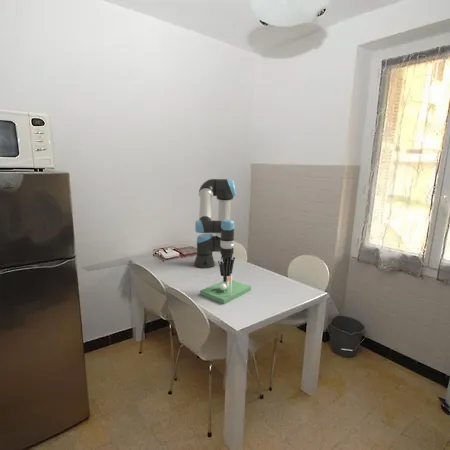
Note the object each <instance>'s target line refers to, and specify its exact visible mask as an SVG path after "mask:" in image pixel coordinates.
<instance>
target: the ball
mask: <svg viewBox="0 0 450 450" xmlns="http://www.w3.org/2000/svg"><path fill="white" fill-rule="evenodd" d="M226 288H227V286H226V284H224V283H222V284H220V289H221V290H225V289H226Z"/></svg>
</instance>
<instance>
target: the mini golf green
mask: <svg viewBox="0 0 450 450" xmlns="http://www.w3.org/2000/svg"><path fill="white" fill-rule="evenodd" d="M227 281H229V287H227V288H226V289H225V290H221V289H220V284H222V283H224V282H223V280H221V281H219V282H217V283H214V284H212V285H210V286H208V287H205V288H203V289H201V290H199V295H201V296H203V297H206V298H208V299H210V300H213V301H216V302H217V303H221V304H222V305H226V304H228V303H229V302H231V301H233V300H235V299H237V298H239V297H242V295H245V294H246V293H247V294H248V293H249V292H251V291H252V286H251V285H248V284H245V283H242V282H239V281H236V280H233V275H231V276H229V277H227Z"/></svg>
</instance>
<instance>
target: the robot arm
mask: <svg viewBox="0 0 450 450" xmlns="http://www.w3.org/2000/svg"><path fill="white" fill-rule="evenodd" d="M198 197H199V213H198V215H199V217H198V218H199V219H196V221H195V224H194V225H195V227H194V229H195V232H196V233H197V234H198V233H199V235H198V236H197V237H196V257H195V259H194V265H193V266H195V268H201V269H210V268H213V267H215V265H216V264H215V260H214V256H213V255H214V254H213V252H215V253H216V252H218V253H220V255H221V257H220V260H218V261H217V264H218V266H219V274H220V277H222V278H223V279H222V281H223V282H224V284H226V286H227V287H229V281H227V277H230V276H232V274H233V270H234V269H233V268H234V264H235V260H236V257H235V256H233V255H234V249H235V247H234V246H235V245H234V244H235V241H234V240H235V227H236V226H235V221H234V220H232V219H231V207H232V201H233V200H234V197H236V186H235V181H234V180H233V179H228V178H225V179H224V178H218V179H217V178H211V179H207V180H205V181H204V182H203V183H202V184H201V185H200V188H199V190H198ZM213 197H216V200H217V201H218V208H217V211H218V217H217V220H212V207H213V206H212V198H213ZM213 234H215V235H213Z"/></svg>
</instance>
